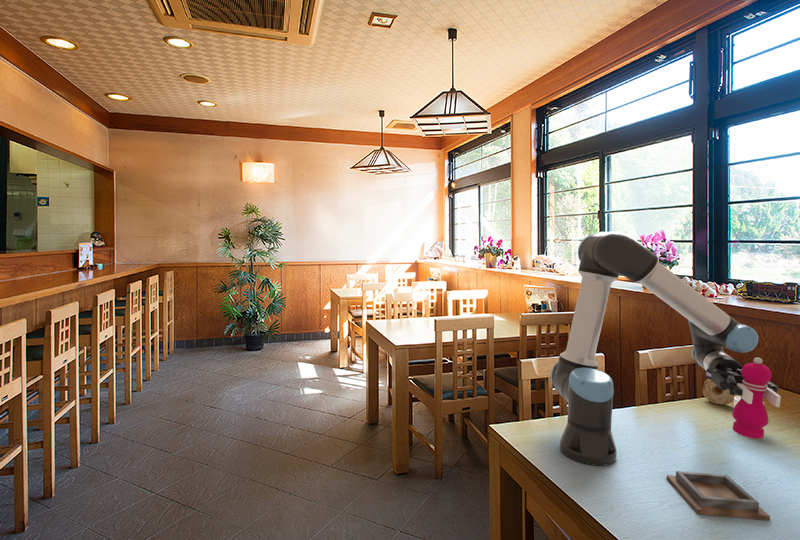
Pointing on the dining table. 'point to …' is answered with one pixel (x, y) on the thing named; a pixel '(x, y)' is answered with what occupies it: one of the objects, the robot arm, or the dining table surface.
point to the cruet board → (716, 495)
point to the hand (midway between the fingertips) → (764, 400)
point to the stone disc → (715, 397)
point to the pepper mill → (754, 414)
